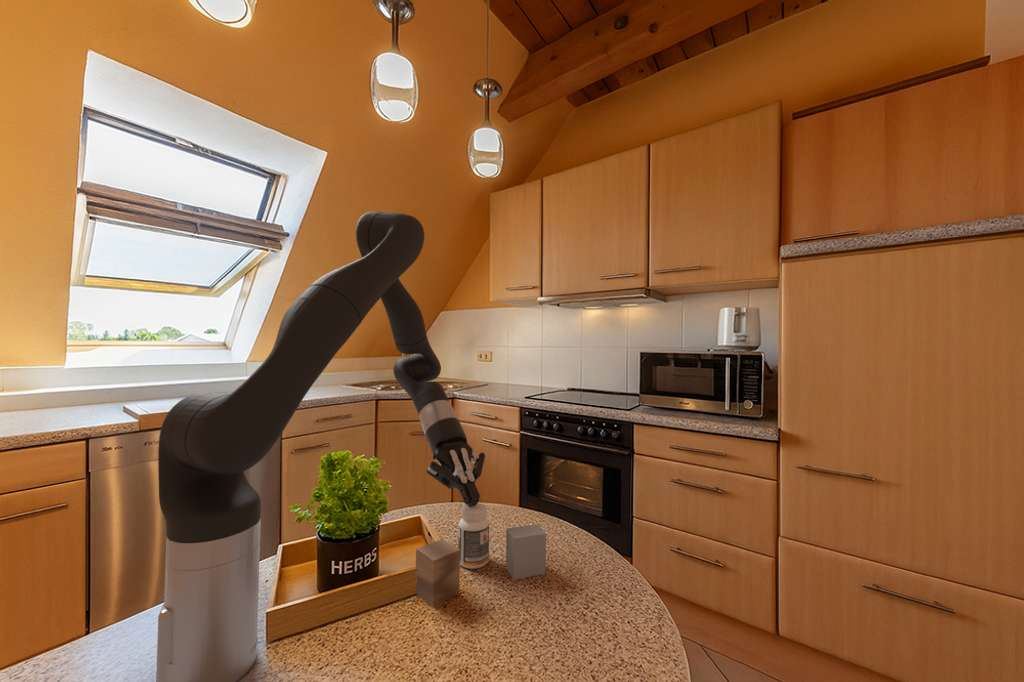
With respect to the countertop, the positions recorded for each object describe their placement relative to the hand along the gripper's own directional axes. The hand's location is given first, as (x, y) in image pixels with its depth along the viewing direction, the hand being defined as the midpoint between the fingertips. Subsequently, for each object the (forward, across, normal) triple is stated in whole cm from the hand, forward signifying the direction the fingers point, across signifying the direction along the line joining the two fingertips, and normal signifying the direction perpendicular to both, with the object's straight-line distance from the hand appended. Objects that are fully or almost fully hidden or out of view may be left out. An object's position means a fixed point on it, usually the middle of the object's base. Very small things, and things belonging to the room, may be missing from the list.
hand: (474, 503), depth 75 cm
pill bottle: (+8, 0, +8) cm, 11 cm away
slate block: (+13, +6, +2) cm, 15 cm away
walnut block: (+11, -10, +4) cm, 15 cm away
